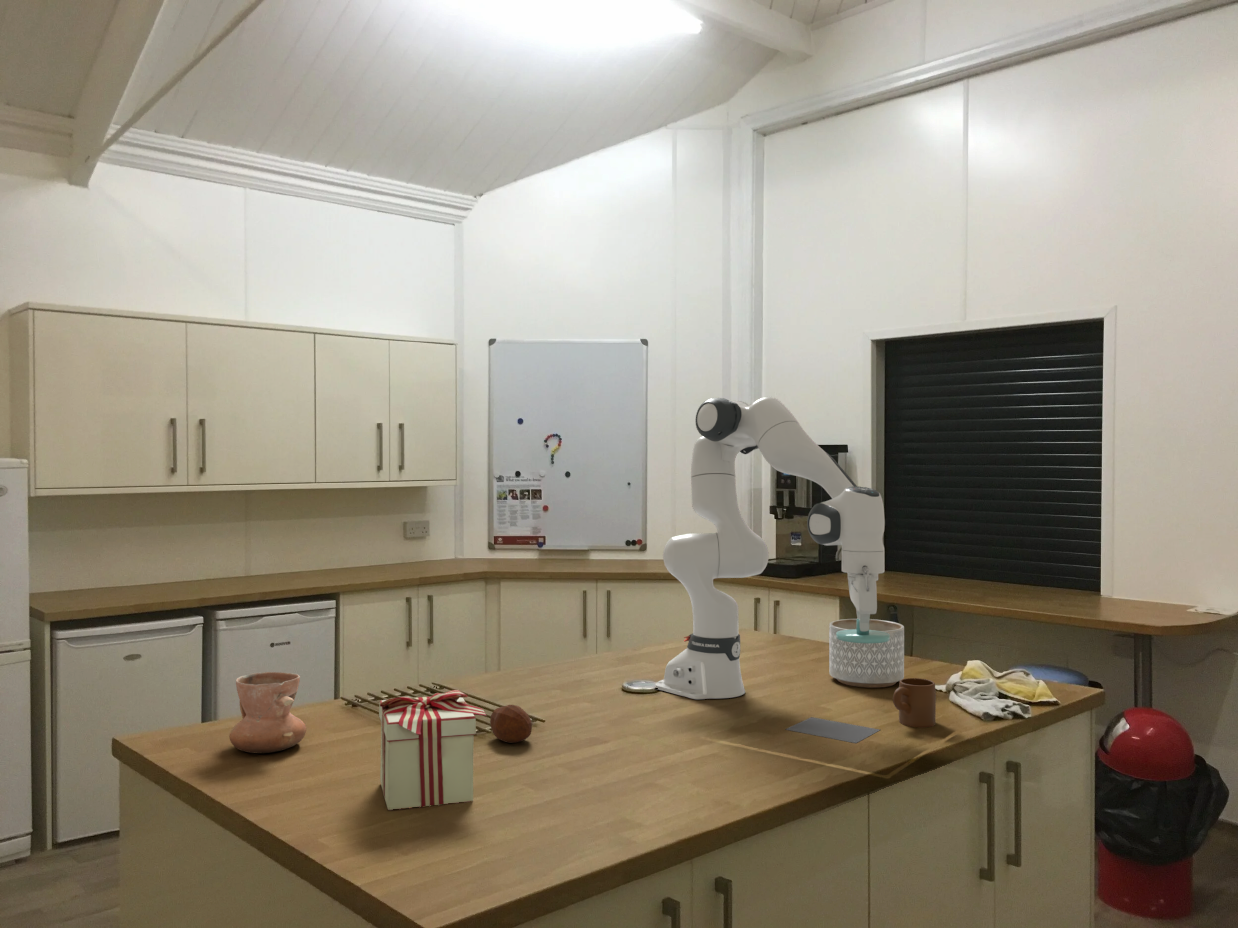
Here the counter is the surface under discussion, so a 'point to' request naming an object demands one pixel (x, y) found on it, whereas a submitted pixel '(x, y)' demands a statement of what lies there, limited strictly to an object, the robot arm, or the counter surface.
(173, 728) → the counter surface
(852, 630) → the lid
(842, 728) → the mat
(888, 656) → the planter
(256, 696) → the ceramic jug
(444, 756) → the gift box
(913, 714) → the mug
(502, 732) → the potato
